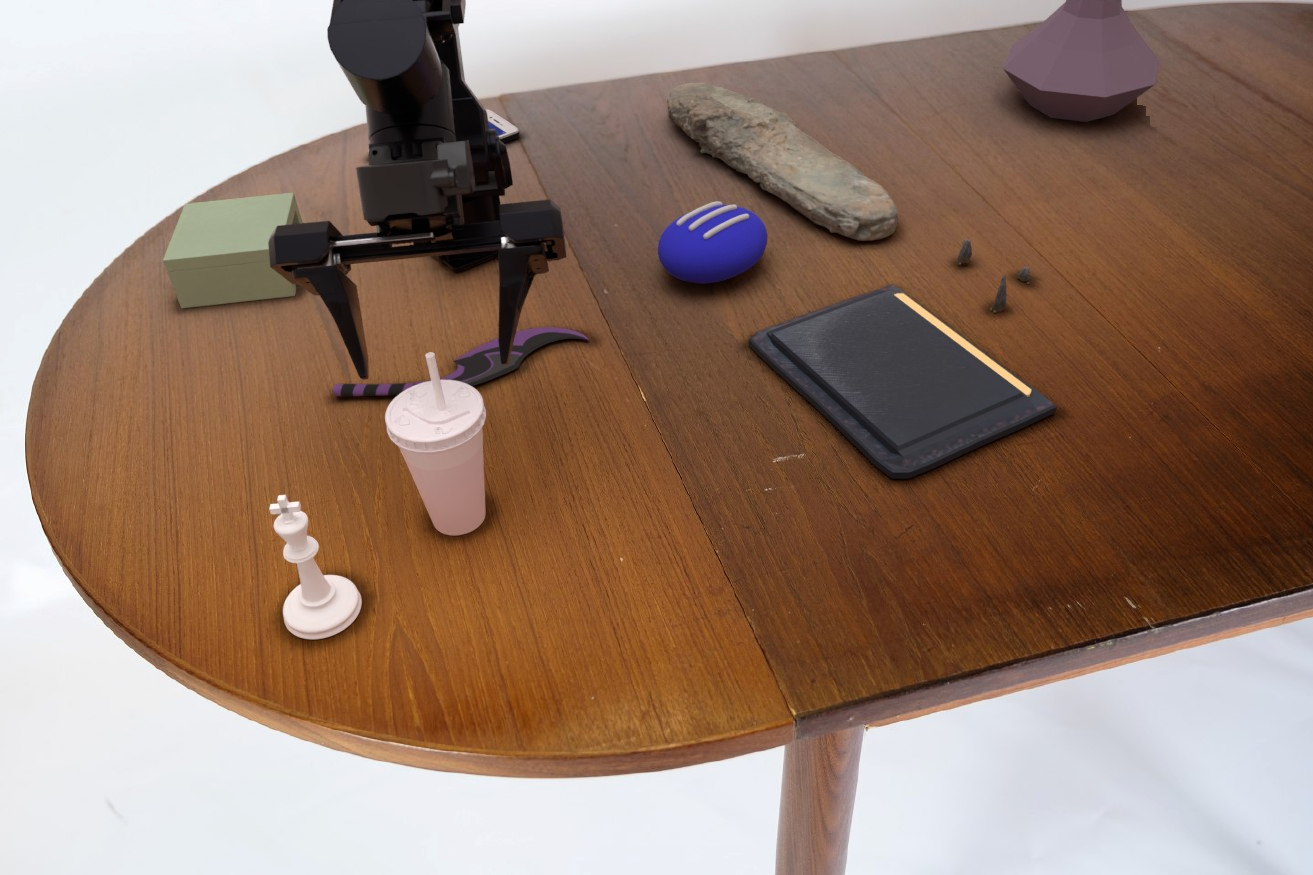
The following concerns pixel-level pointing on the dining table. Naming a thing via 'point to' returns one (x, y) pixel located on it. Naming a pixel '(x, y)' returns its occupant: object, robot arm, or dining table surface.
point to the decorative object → (712, 243)
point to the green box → (228, 250)
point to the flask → (1082, 62)
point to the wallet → (899, 381)
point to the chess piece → (312, 581)
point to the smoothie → (443, 448)
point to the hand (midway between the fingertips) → (434, 371)
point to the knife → (474, 362)
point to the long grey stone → (783, 160)
